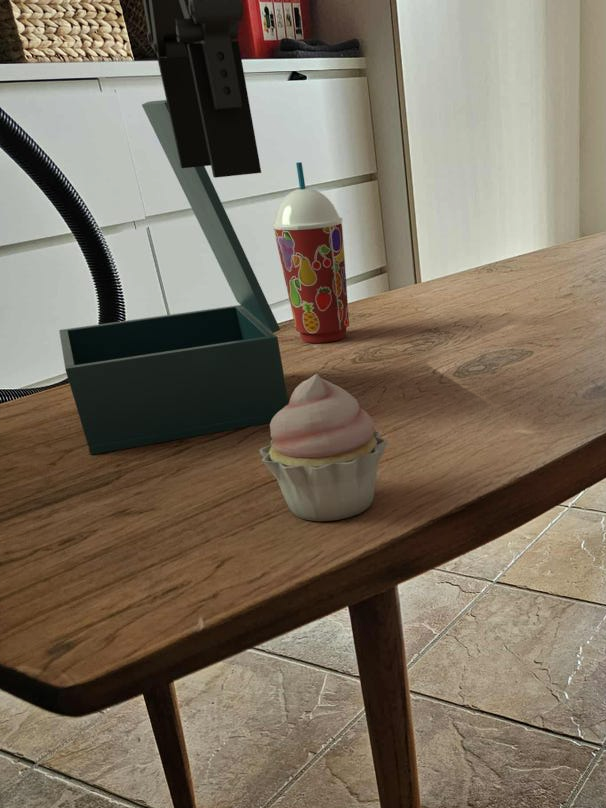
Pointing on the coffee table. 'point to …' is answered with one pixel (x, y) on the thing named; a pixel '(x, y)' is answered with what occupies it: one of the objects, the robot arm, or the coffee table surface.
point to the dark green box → (173, 377)
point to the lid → (213, 221)
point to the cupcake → (324, 452)
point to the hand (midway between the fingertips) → (217, 171)
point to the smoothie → (313, 263)
